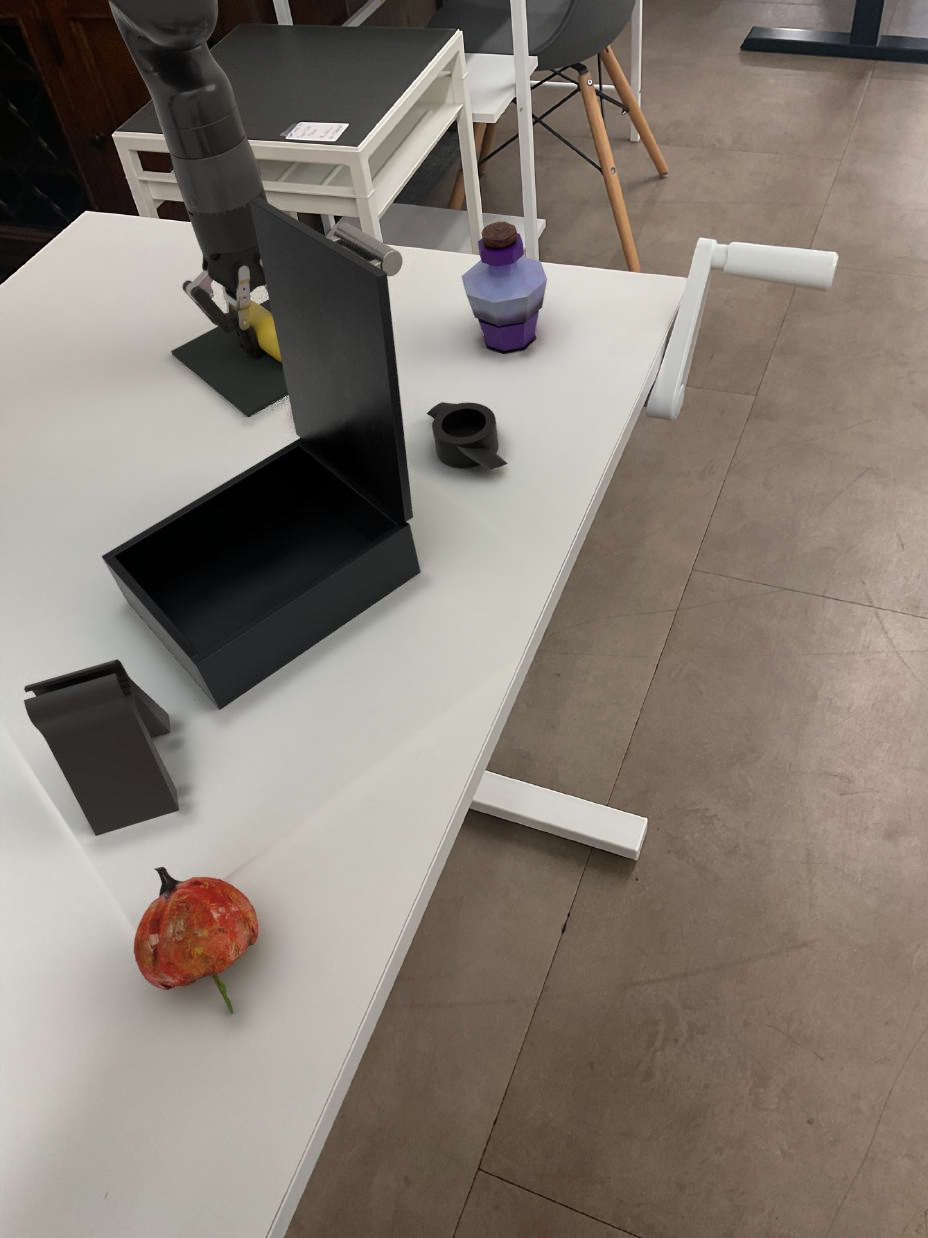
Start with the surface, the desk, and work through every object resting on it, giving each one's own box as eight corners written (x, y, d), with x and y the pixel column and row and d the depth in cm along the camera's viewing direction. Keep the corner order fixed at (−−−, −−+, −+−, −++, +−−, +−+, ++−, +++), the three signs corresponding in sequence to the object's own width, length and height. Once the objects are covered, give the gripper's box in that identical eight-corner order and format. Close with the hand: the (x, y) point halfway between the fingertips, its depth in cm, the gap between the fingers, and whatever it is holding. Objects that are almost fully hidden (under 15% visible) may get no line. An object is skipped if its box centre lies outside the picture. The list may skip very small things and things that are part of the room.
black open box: (222, 715, 77) (196, 666, 72) (130, 606, 85) (100, 555, 81) (422, 578, 84) (410, 524, 79) (317, 490, 92) (301, 436, 87)
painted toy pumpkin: (295, 975, 65) (240, 830, 66) (273, 1014, 58) (212, 851, 58) (187, 1017, 65) (133, 872, 66) (152, 1062, 58) (92, 898, 58)
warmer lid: (377, 276, 63) (443, 248, 66) (248, 200, 72) (311, 177, 74) (405, 522, 78) (459, 492, 80) (296, 434, 87) (347, 409, 89)
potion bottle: (558, 314, 105) (552, 205, 96) (542, 365, 100) (534, 254, 91) (479, 311, 107) (465, 204, 98) (459, 360, 102) (443, 252, 93)
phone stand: (182, 817, 71) (118, 722, 62) (99, 842, 71) (22, 750, 62) (172, 718, 77) (112, 618, 68) (95, 741, 77) (24, 643, 68)
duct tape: (509, 409, 96) (506, 385, 94) (508, 481, 90) (506, 456, 88) (429, 416, 97) (424, 391, 95) (423, 487, 91) (418, 462, 88)
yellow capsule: (287, 375, 103) (278, 346, 101) (230, 332, 110) (220, 303, 107) (316, 359, 105) (307, 330, 102) (257, 318, 111) (248, 289, 108)
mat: (248, 417, 100) (247, 414, 100) (172, 354, 109) (170, 350, 109) (375, 344, 106) (375, 340, 106) (293, 289, 115) (292, 286, 114)
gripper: (264, 147, 99) (306, 302, 112) (137, 207, 94) (197, 361, 107) (306, 170, 94) (345, 328, 108) (176, 234, 90) (233, 390, 103)
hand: (271, 343), depth 107 cm, fingers closed on yellow capsule, 3 cm apart
